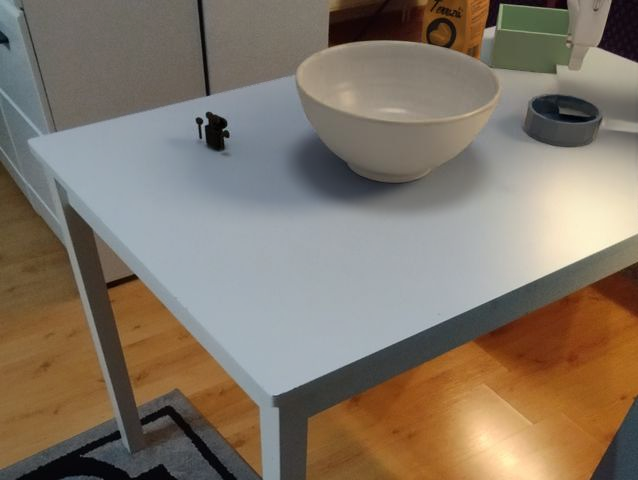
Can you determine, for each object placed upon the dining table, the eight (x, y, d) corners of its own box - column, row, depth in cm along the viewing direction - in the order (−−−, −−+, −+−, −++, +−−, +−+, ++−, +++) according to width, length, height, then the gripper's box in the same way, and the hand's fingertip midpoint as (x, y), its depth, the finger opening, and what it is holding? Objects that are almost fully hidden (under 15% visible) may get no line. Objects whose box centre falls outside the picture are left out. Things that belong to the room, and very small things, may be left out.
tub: (572, 46, 133) (581, 11, 128) (576, 76, 122) (586, 38, 117) (493, 38, 135) (500, 3, 130) (490, 67, 124) (497, 29, 120)
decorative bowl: (277, 128, 104) (276, 46, 95) (441, 113, 109) (453, 34, 101) (322, 223, 85) (324, 131, 77) (517, 199, 90) (540, 110, 82)
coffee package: (406, 76, 120) (422, -67, 105) (436, 55, 128) (455, -82, 113) (458, 89, 116) (483, -58, 101) (486, 66, 124) (512, -73, 109)
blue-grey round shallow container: (593, 119, 109) (600, 97, 106) (598, 150, 101) (605, 128, 98) (523, 111, 110) (528, 90, 108) (522, 141, 102) (527, 119, 100)
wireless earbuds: (195, 141, 100) (191, 107, 97) (208, 135, 102) (205, 102, 98) (227, 157, 97) (224, 123, 93) (240, 151, 98) (238, 117, 95)
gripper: (632, -23, 86) (598, 86, 95) (618, -61, 100) (589, 37, 110) (581, -28, 87) (552, 80, 96) (574, -65, 101) (549, 32, 111)
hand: (571, 57), depth 103 cm, fingers open, 8 cm apart
